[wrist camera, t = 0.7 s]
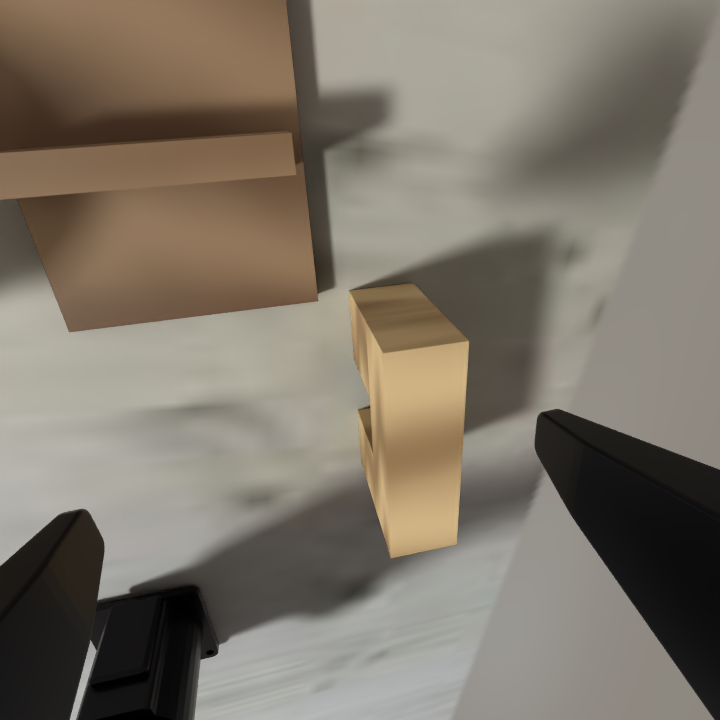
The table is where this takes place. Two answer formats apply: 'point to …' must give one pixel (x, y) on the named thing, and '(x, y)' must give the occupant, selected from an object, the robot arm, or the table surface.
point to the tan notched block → (410, 414)
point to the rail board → (156, 155)
